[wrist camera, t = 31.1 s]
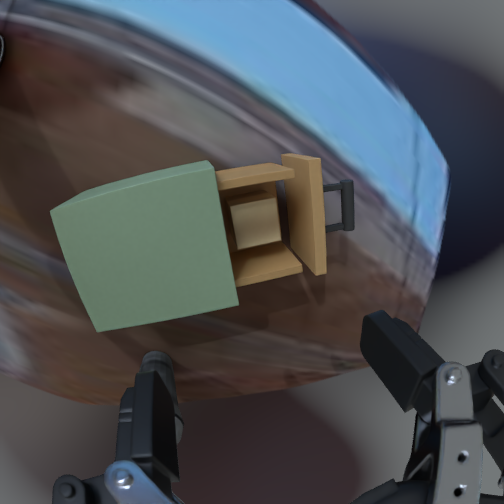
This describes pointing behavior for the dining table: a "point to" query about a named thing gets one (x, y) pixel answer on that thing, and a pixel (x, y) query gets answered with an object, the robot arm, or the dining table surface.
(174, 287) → the cabinet
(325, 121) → the dining table surface
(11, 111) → the dining table surface
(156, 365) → the beverage cup
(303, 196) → the drawer
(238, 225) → the block
